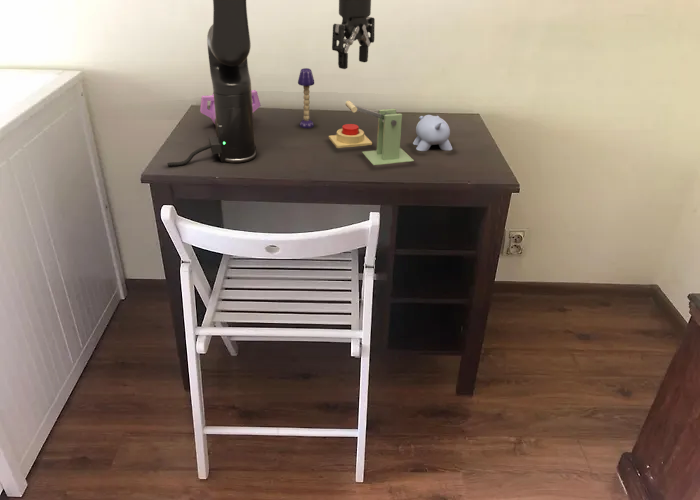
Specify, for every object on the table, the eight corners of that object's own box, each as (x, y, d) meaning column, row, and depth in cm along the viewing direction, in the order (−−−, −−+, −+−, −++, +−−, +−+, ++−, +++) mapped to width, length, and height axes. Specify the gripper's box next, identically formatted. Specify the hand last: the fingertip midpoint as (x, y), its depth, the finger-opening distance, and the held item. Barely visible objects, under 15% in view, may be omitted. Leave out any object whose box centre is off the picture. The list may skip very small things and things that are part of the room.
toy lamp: (317, 127, 175) (317, 70, 166) (303, 130, 173) (303, 72, 164) (309, 122, 178) (308, 66, 170) (295, 125, 176) (294, 68, 168)
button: (345, 136, 160) (345, 129, 159) (340, 131, 164) (340, 124, 163) (360, 135, 161) (360, 128, 160) (355, 130, 165) (355, 123, 164)
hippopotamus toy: (442, 136, 171) (446, 104, 166) (457, 156, 158) (461, 121, 153) (405, 137, 170) (408, 104, 165) (417, 157, 157) (420, 122, 152)
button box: (336, 151, 159) (337, 138, 158) (328, 141, 166) (328, 128, 164) (372, 148, 162) (372, 135, 160) (362, 138, 169) (363, 125, 167)
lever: (350, 113, 143) (353, 104, 142) (343, 107, 147) (347, 98, 146) (396, 128, 148) (400, 119, 148) (389, 122, 153) (392, 113, 152)
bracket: (373, 169, 150) (375, 119, 143) (361, 155, 157) (363, 108, 151) (413, 164, 153) (417, 116, 146) (400, 152, 160) (403, 105, 154)
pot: (194, 121, 177) (190, 81, 171) (250, 113, 184) (248, 75, 178) (211, 141, 164) (207, 99, 158) (271, 132, 171) (269, 91, 165)
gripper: (359, -11, 146) (357, 57, 154) (323, -5, 136) (323, 68, 144) (385, -8, 142) (381, 62, 150) (350, -1, 132) (348, 73, 140)
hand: (353, 65), depth 147 cm, fingers open, 8 cm apart
